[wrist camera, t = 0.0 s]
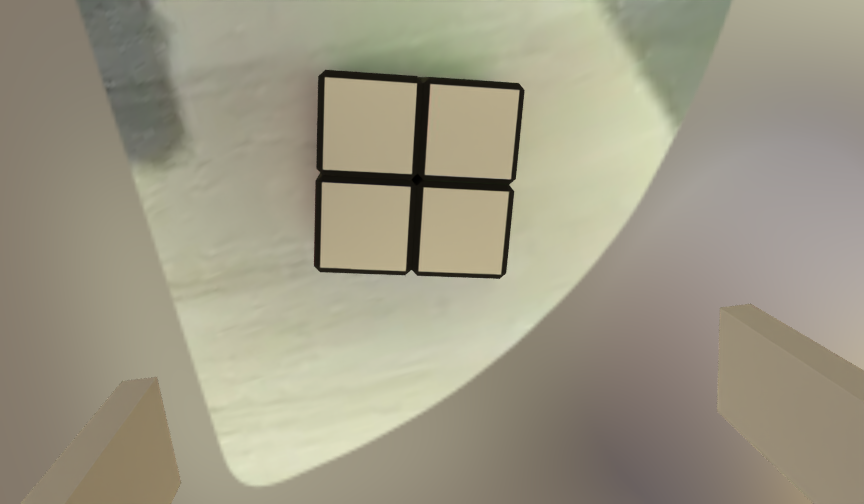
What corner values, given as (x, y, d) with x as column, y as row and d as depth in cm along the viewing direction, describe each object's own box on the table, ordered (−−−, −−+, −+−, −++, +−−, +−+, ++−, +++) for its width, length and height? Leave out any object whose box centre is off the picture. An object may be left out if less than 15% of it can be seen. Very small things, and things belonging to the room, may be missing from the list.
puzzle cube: (326, 230, 42) (313, 274, 33) (330, 71, 40) (316, 68, 30) (477, 236, 43) (507, 280, 34) (490, 82, 41) (526, 82, 31)
